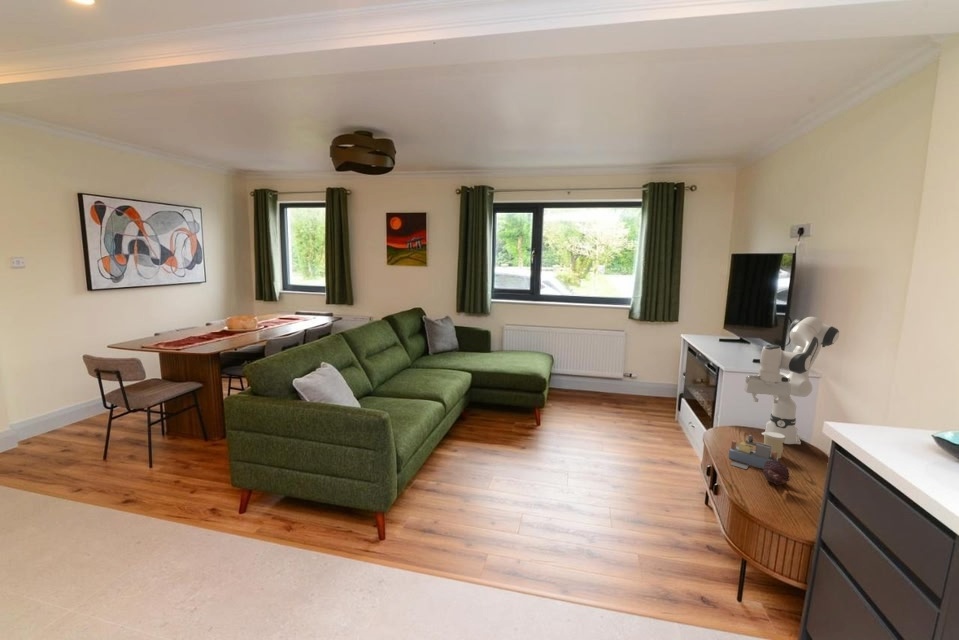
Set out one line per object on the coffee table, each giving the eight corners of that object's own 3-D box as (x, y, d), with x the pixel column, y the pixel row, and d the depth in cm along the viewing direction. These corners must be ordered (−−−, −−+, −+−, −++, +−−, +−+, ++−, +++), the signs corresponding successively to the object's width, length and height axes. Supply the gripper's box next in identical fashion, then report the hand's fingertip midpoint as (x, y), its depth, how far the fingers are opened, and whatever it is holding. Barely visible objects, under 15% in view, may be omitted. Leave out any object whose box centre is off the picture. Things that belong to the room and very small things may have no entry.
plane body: (732, 454, 226) (734, 435, 225) (777, 466, 212) (779, 446, 211) (728, 459, 220) (730, 439, 219) (774, 472, 207) (776, 451, 205)
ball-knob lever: (746, 442, 218) (746, 434, 218) (764, 447, 213) (765, 438, 213) (745, 443, 217) (746, 435, 216) (763, 448, 212) (764, 439, 211)
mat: (733, 461, 217) (733, 460, 217) (749, 466, 213) (749, 465, 213) (730, 465, 213) (730, 464, 213) (746, 469, 208) (746, 469, 208)
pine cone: (757, 471, 207) (759, 452, 206) (781, 475, 203) (783, 455, 202) (767, 488, 190) (769, 467, 189) (793, 493, 187) (796, 471, 186)
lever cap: (741, 448, 222) (742, 441, 221) (752, 451, 218) (753, 444, 218) (738, 451, 218) (739, 443, 218) (749, 454, 215) (750, 446, 214)
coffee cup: (786, 460, 220) (789, 438, 218) (766, 458, 222) (769, 437, 220) (777, 453, 229) (780, 432, 228) (758, 451, 231) (761, 430, 229)
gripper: (748, 376, 214) (746, 402, 215) (794, 379, 210) (790, 406, 211) (743, 373, 220) (741, 398, 221) (787, 376, 216) (784, 402, 217)
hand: (765, 402), depth 216 cm, fingers open, 8 cm apart
